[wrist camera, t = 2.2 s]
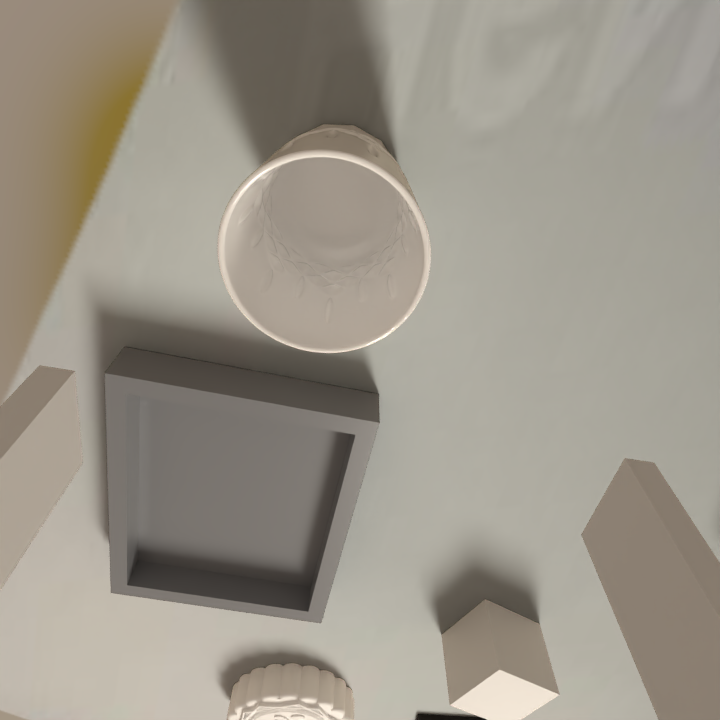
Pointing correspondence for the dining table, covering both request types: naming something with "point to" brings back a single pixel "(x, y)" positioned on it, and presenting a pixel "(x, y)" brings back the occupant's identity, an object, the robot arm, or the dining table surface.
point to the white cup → (325, 243)
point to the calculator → (445, 717)
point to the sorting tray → (230, 483)
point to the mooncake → (290, 695)
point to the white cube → (497, 664)
